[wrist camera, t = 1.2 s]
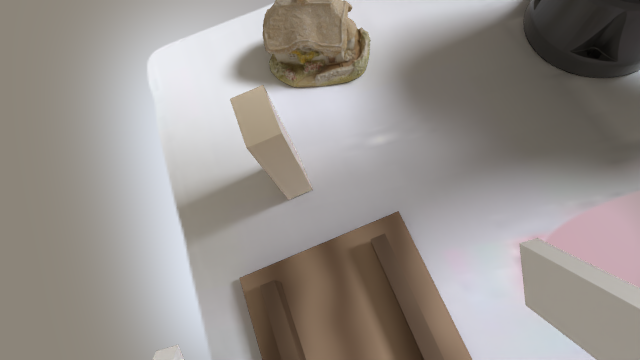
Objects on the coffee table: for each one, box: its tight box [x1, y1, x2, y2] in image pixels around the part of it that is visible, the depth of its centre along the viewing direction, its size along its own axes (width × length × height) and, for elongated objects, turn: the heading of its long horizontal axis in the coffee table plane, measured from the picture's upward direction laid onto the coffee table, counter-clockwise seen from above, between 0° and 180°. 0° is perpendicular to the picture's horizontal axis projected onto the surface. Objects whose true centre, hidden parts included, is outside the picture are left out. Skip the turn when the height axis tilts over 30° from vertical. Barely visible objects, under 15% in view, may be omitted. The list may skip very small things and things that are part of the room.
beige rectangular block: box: [230, 85, 313, 200], centre depth 35 cm, size 3×5×14 cm, turn 21°
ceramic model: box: [263, 0, 370, 87], centre depth 43 cm, size 14×11×10 cm
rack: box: [240, 211, 472, 360], centre depth 32 cm, size 18×20×4 cm
